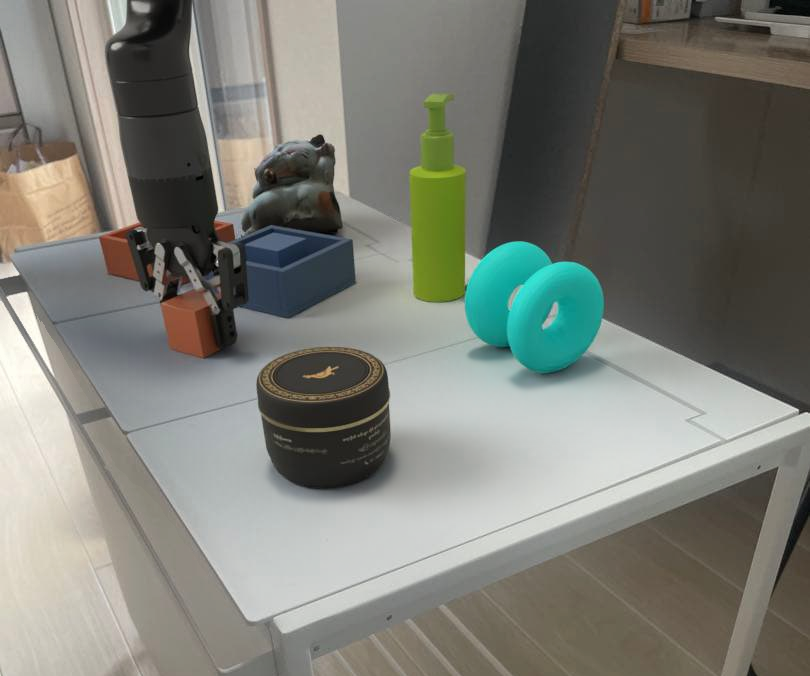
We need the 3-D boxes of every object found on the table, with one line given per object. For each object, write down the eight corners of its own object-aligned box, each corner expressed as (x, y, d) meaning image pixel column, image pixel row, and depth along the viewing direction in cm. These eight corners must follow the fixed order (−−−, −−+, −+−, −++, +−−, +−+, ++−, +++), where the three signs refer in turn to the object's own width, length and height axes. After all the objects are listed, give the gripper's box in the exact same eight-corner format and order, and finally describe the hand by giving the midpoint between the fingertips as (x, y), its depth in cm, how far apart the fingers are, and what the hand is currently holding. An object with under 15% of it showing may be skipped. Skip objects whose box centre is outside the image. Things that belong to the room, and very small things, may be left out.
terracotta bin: (107, 273, 105) (98, 236, 103) (175, 247, 113) (168, 211, 110) (172, 288, 100) (164, 250, 97) (239, 260, 108) (233, 223, 105)
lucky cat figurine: (222, 243, 113) (215, 134, 111) (286, 256, 123) (281, 156, 121) (302, 223, 104) (296, 105, 102) (364, 239, 113) (360, 131, 112)
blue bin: (206, 298, 97) (198, 254, 94) (276, 266, 105) (271, 224, 102) (288, 318, 91) (282, 271, 88) (356, 282, 99) (352, 238, 96)
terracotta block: (169, 348, 86) (160, 303, 83) (203, 332, 89) (194, 287, 86) (203, 358, 84) (194, 312, 81) (236, 341, 87) (229, 295, 84)
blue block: (250, 287, 97) (244, 244, 94) (278, 274, 100) (273, 232, 97) (283, 295, 95) (278, 250, 92) (311, 281, 98) (306, 238, 95)
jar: (416, 445, 68) (413, 358, 64) (348, 507, 61) (339, 414, 57) (316, 419, 72) (306, 335, 68) (242, 474, 66) (225, 385, 61)
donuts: (540, 328, 86) (546, 229, 80) (604, 362, 79) (616, 256, 73) (458, 351, 83) (458, 248, 77) (517, 389, 76) (523, 279, 70)
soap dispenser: (471, 281, 98) (473, 90, 86) (458, 303, 93) (458, 102, 81) (423, 279, 99) (418, 89, 87) (407, 300, 94) (400, 101, 82)
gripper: (83, 166, 77) (126, 339, 87) (195, 183, 70) (228, 368, 80) (145, 149, 82) (179, 314, 92) (255, 163, 75) (279, 340, 85)
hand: (202, 338), depth 86 cm, fingers open, 6 cm apart
